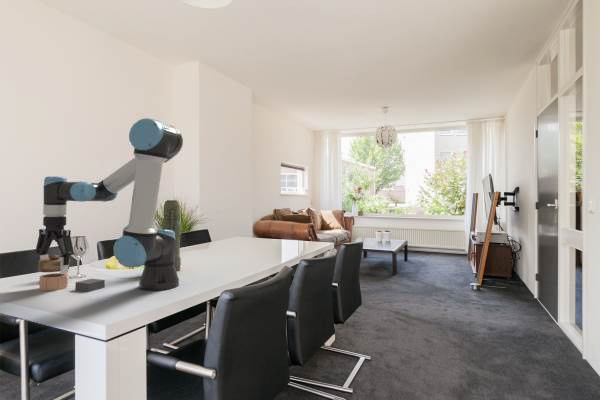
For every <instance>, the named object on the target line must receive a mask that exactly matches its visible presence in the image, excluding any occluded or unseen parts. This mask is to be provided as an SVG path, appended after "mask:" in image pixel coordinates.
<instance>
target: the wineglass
mask: <svg viewBox="0 0 600 400" xmlns="http://www.w3.org/2000/svg"><path fill="white" fill-rule="evenodd" d="M71 241H72V246H73V251H74V254H73V255H71V256H70V257H73V259H75V260H76V274H75V275H74V274H73V275H70V276H69V278H70V279H80V278H79V277H81V278H85V277H87V274H80V261H81V259H82V258H83V257H85V256H86V255H87V254H88V252H89V249H90V246H89V242H88V239H87V236H85V235H84V236H83V235H77V236H71Z"/></svg>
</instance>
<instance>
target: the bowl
mask: <svg viewBox="0 0 600 400" xmlns="http://www.w3.org/2000/svg"><path fill="white" fill-rule="evenodd" d="M68 284H69V273H65V274H60V272H52V273H47V274H42V275H40V276H39V290H40V291H42V292H51V291H52V292H53V291H58V290H59V291H60V290H64V289H67V288H68ZM66 287H67V288H66Z"/></svg>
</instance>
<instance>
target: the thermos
mask: <svg viewBox="0 0 600 400" xmlns="http://www.w3.org/2000/svg"><path fill="white" fill-rule="evenodd" d="M180 216H181V206H180V202H179V200H176V199H175V200H171V199H169V200H168V199H167V200H166V201H164V205H163V221H162V224H161V230H172V231H174V233H175V239H176V240H175V269H176V272H177V271H178V272H180V271H181V265H182V264H181V263H182V261H181V260H182V259H181V255H180V254H181V253H180V251H181V250H180V249H181V248H180V246H181V244H180V243H181V235H182V223H181V221H180V220H181V219H180ZM178 272H177V273H178Z"/></svg>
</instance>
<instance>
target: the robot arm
mask: <svg viewBox="0 0 600 400" xmlns="http://www.w3.org/2000/svg"><path fill="white" fill-rule="evenodd" d="M128 140H129V142H130V144H131V146H132V147H133V149H134V150H133V155H134V157H133V158H132V159H131V160H129V161H128V162H126V163H125V164H123V165H122V166H121V167H119V168H118V169H117V170H115V171H114V172H113V173H110V174H109V175H107V177H105V178H103V179H102V180H100V181H99V182H87V181H83V180H82V181H68V178H67V177H65V176H50V175H49V176H46V177H44V180H43V186H42V188H43V206H42V211H43V212H42V215H43V219H42V222H43V223H42V225H43V226H44V227H45V228H39V229H38V239H37V243H36V245H35V246H36V247H35V251H34V252H35V254H38V255H39V260H42V259H48V258H49V250H50V248H51V245H52V243H53V241H54V242H56V243H57V246H58V248H59V251H60V254H61V256H60V257H59V258H60V271H59V273H60V274H65V273H67V274H69V269H68V265H69V266H70V257H72V256H71V255H73V254H74V251H73V246H72V241H71V237H72V236H71V234H72V233H71V232H72V231H71V229H67V230H66V229H65V226H67V216H66V215H67V202H80V203H81V202H83V203H84V202H112V201H114V200H115V199H116V198H117V197H118V193H119V192H120V191H122V190H123V189H124V188H127V187H128V186H129V185H131V184H132V183H133V189H132V196H131V203H130V212H129V213H130V214H129V219H128V224H127V225H126V226H125V227H123V228H122V236H120V237H119V238H118V239H117V240H116V241H115V243H114V245H113V255H114V257H115V260H117V261H118V263H119V264H120V265H121V266H122V267H124V268H129V269H131V268H132V269H133V268H140V267H142V266H143V270H142V273H141V277H140V279H139V282H138V283H139V285H138V289H141V290H146V291H160V290H162V291H163V290H169V289H174V288H177V287H178V286H179V285H180V278H179V277H178V272H176V269H175V240H176V239H175V233H174V231H172V230H162V229H158V228H155V220H156V215H157V214H156V213H157V207H158V199H159V198H158V197H159V192H160V185H161V183H160V182H161V178H162V177H161V176H162V168H163V164H166V163H167V162H169V161H171V160H172V159H174V157H176V156H177V155H178V154H179V153H180V151H182V147H183V145H184V138H183V136H182V133H181V132H180V131H179V129H177V128H176V127H175V126H172V125H169V124H167V123H164V122H162V121H160V120H157V119H153V118H147V117H146V118H144V117H143V118H140V119H139V120H137V121H136V122H134V124H132V126H131V127H130V130H129V134H128Z"/></svg>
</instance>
